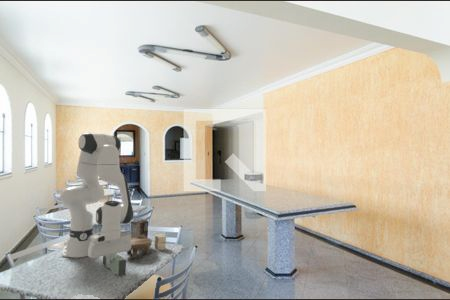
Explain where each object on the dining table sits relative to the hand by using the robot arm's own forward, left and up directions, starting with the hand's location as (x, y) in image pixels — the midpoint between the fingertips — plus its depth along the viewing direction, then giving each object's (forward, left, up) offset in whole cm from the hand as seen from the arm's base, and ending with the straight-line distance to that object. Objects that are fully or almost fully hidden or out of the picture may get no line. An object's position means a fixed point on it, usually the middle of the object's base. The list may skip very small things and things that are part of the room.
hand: (110, 263), depth 136 cm
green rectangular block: (-3, +3, -4) cm, 6 cm away
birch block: (-20, +35, -5) cm, 40 cm away
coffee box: (-30, +25, -5) cm, 39 cm away
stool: (-16, +19, -5) cm, 25 cm away
